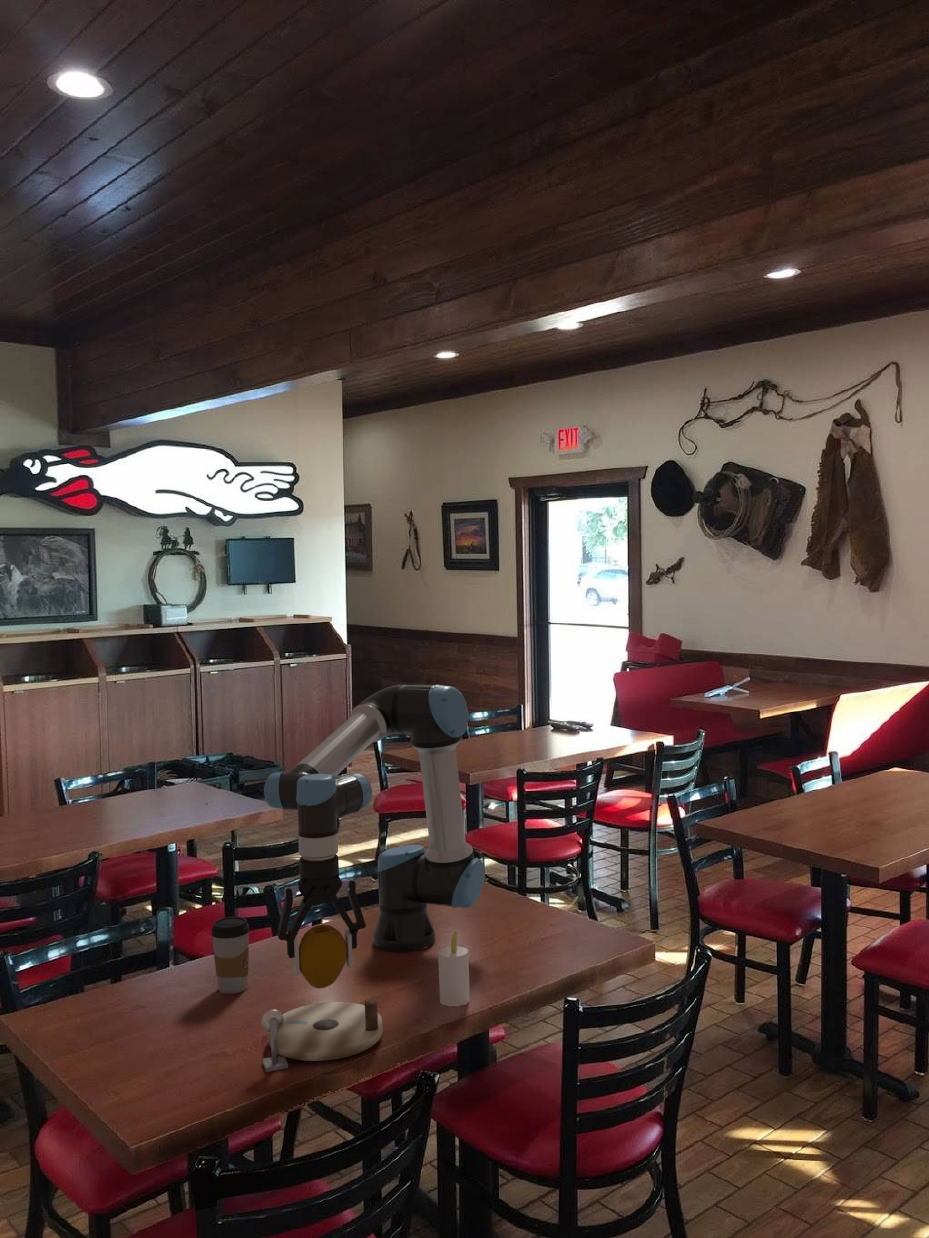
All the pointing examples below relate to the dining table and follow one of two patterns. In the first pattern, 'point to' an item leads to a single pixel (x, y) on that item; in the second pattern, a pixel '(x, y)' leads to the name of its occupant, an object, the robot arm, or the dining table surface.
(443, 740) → the robot arm
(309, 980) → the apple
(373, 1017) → the turntable
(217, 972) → the coffee cup
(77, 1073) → the dining table surface
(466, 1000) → the candle
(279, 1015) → the indicator stand
